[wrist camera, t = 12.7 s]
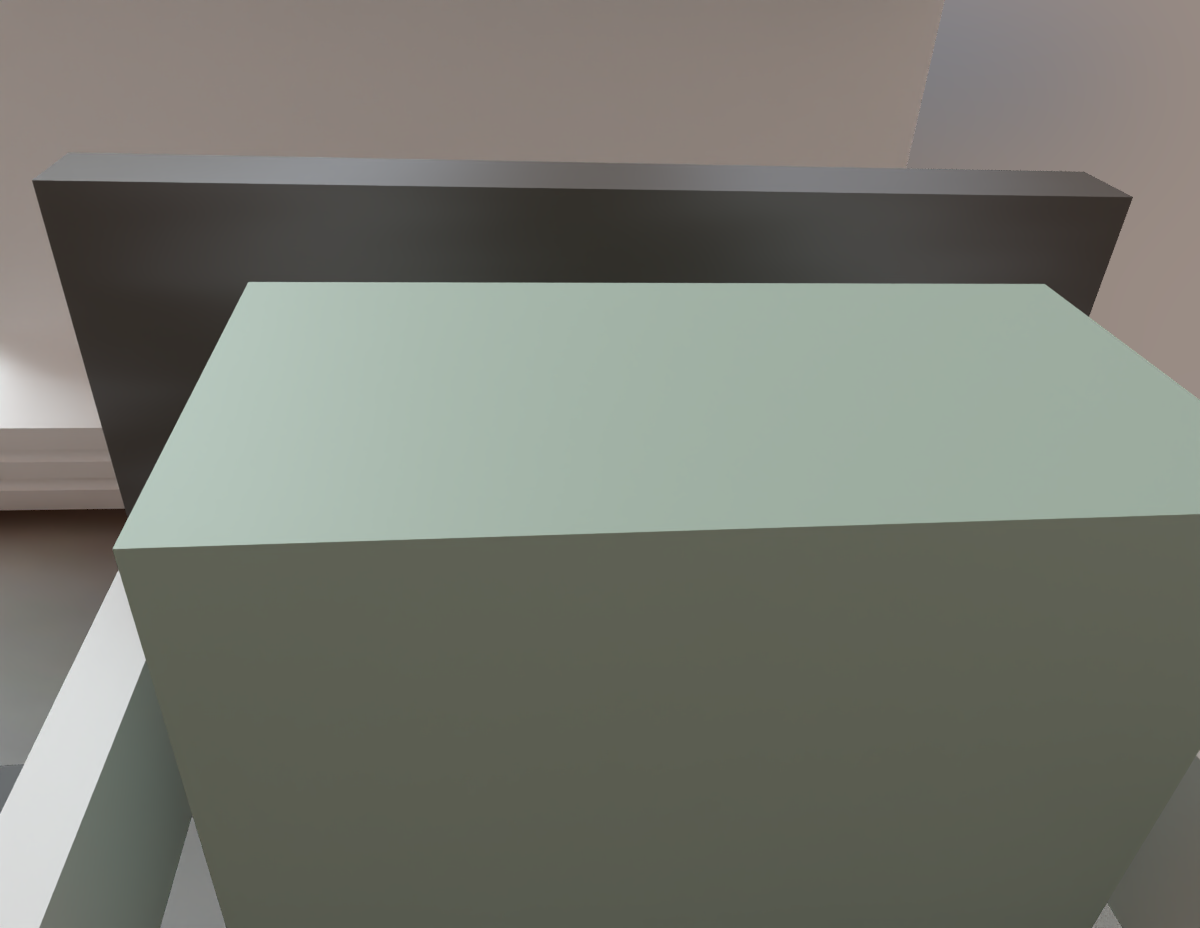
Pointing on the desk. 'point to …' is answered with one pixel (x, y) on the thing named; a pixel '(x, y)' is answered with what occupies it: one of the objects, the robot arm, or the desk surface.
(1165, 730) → the grey-green tall block
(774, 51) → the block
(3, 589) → the desk surface
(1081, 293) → the slot board
